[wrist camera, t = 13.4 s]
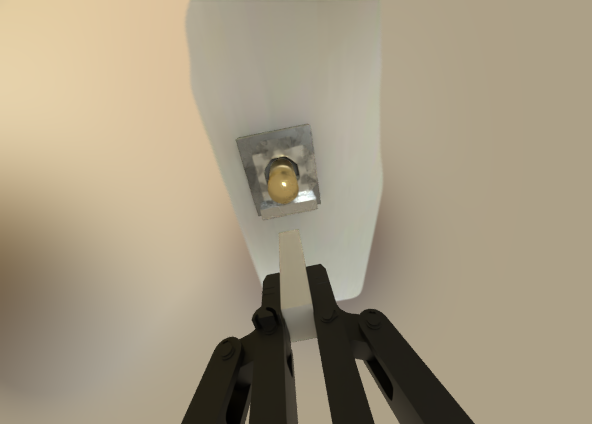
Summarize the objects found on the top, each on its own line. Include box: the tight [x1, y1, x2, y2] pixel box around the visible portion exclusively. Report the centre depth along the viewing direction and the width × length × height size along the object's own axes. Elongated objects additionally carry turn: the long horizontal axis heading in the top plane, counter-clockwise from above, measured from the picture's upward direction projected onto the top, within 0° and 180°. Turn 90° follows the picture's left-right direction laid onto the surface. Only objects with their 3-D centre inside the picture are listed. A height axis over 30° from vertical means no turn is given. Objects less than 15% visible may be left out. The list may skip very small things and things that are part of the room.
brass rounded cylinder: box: [268, 159, 299, 204], centre depth 34 cm, size 4×4×10 cm
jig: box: [236, 124, 321, 220], centre depth 36 cm, size 14×12×5 cm
